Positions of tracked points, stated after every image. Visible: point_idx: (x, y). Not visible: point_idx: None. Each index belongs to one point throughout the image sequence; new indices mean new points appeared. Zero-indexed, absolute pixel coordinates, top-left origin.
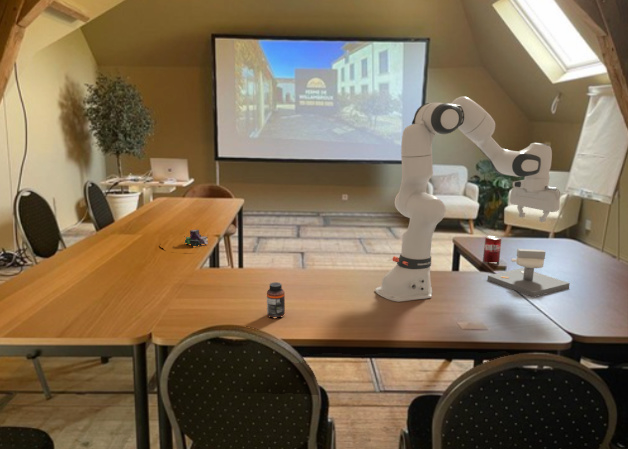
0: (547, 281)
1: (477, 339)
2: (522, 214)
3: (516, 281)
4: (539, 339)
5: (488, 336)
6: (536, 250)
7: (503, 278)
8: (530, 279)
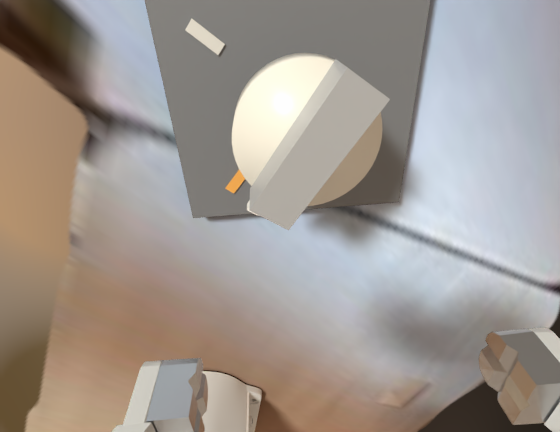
0: (360, 43)
1: (440, 408)
2: (202, 426)
3: None
4: None
5: (446, 393)
6: (334, 131)
7: (244, 191)
8: None
